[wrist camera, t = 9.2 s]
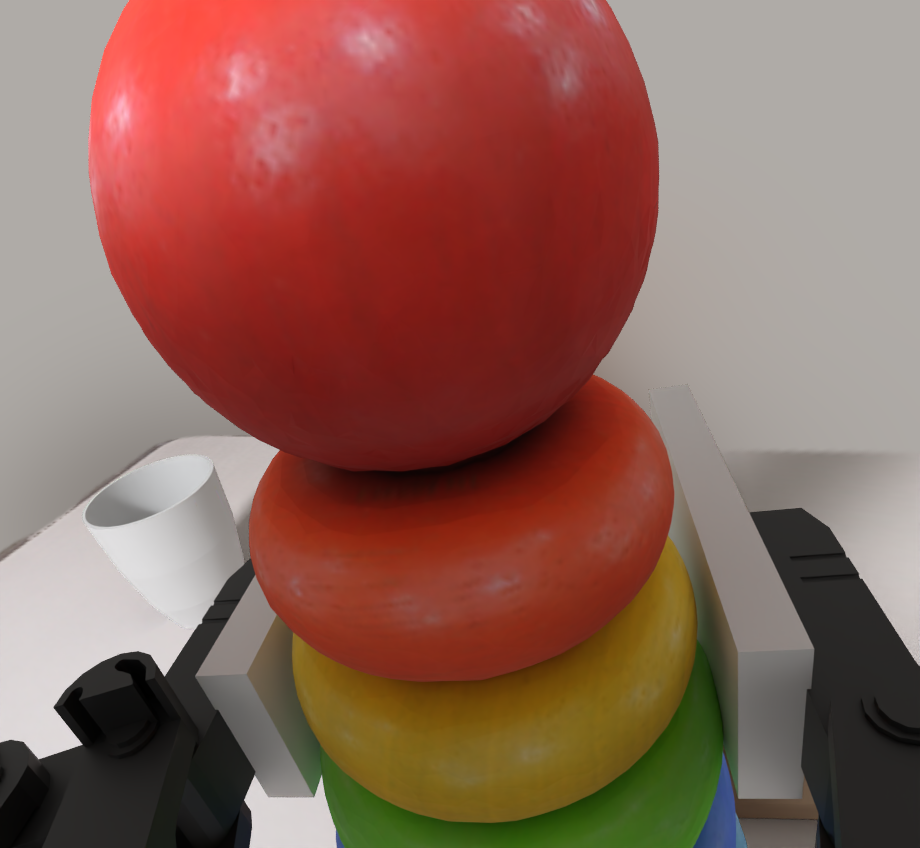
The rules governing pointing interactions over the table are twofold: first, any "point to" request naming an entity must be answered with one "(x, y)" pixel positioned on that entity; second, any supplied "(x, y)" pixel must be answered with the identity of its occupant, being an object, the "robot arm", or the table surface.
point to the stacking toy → (430, 396)
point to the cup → (169, 534)
